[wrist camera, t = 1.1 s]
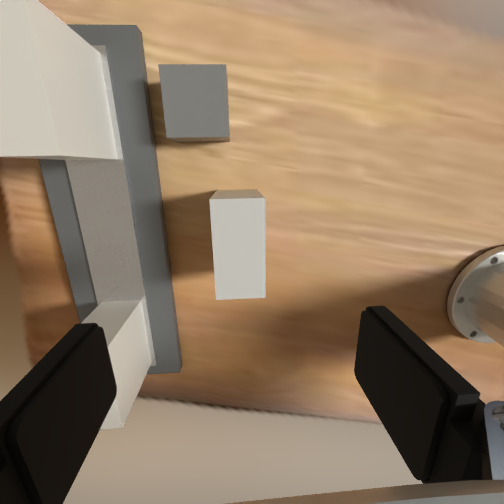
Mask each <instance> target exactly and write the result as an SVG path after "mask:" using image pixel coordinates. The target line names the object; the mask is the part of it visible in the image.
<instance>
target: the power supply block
mask: <svg viewBox="0 0 504 504" xmlns="http://www.w3.org/2000/svg"><path fill="white" fill-rule="evenodd" d="M159 74H160V83H161V92H162V102H163V111H164V120H165V129H166V138H168V139H171V140H173V141H175V142H215V141H230V130H229V106H228V81H227V70H226V65H159Z"/></svg>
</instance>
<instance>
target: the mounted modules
mask: <svg viewBox="0 0 504 504" xmlns="http://www.w3.org/2000/svg"><path fill="white" fill-rule="evenodd" d="M0 157H9V158H32V159H55V160H113V159H118V158H117V152H116V146H115V140H114V134H113V128H112V122H111V116H110V110H109V104H108V98H107V92H106V86H105V80H104V74H103V68H102V62H101V56H100V52H98V51H97V50H96V49H95V48H94V47H92V46H91V45H90V44H89V43H88V42H86V41H85V40H84V39H83V38H82V37H81V36H79V35H78V34H77V33H76V32H75V31H73V30H72V29H71V28H70V27H69V26H68V25H66V24H65V23H64V22H63V21H62V20H60V19H59V18H58V17H57V16H56V15H54V14H53V13H52V12H51V11H50V10H49V9H47V8H46V7H45V6H44V5H43V4H41V3H40V2H39V1H38V0H0ZM82 323H97V324H98V326H99V327H102V328H103V330H104V333H105V338H106V342H107V346H108V351H109V355H110V359H111V364H112V368H113V372H114V377H115V381H116V385H117V394H116V397H115V400H114V402H113V404H112V406H111V408H110V410H109V412H108V414H107V416H106V418H105V420H104V422H103V424H102V426H101V428H100V430H105V429H120V428H123V427H124V425H125V422H126V420H127V417H128V415H129V413H130V411H131V408H132V406H133V404H134V401H135V399H136V397H137V395H138V392H139V390H140V388H141V385H142V383H143V381H144V378H145V376H146V374H147V371H148V369H149V367H150V365H151V357H150V351H149V345H148V339H147V333H146V327H145V321H144V315H143V309H142V303H141V300H133V301H110V302H101V303H100V304H99V305H98V306H97V307H96V308H95V309H94V310H93V311H92V313H91V314H90V315H89V316H88V317H87V318H86V319H85V320H84V321H83V322H82Z"/></svg>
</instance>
